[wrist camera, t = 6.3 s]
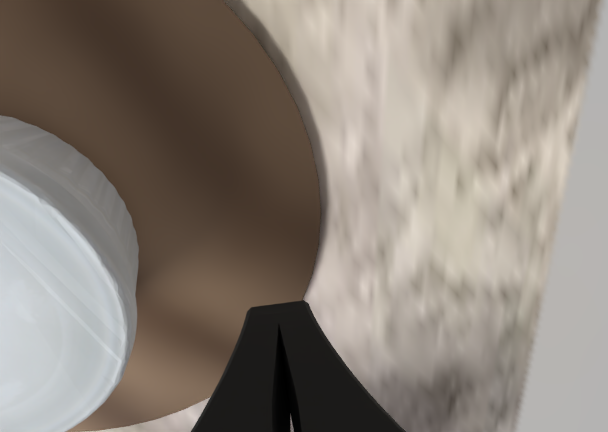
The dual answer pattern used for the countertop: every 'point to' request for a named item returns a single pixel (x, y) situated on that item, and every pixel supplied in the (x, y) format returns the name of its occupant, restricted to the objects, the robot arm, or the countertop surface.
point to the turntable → (175, 172)
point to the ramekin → (60, 282)
